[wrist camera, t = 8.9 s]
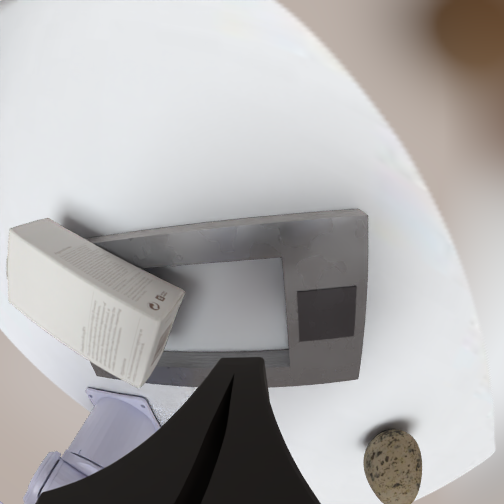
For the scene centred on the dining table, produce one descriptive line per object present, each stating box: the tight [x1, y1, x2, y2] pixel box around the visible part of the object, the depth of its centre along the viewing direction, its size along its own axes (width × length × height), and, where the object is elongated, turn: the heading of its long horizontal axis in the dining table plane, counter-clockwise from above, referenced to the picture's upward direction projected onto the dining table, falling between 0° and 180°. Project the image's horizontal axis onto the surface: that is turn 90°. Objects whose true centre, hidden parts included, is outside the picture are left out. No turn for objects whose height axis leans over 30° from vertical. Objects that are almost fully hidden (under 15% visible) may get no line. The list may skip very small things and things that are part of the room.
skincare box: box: [6, 218, 185, 388], centre depth 16 cm, size 6×4×12 cm
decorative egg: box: [364, 429, 422, 504], centre depth 19 cm, size 6×6×10 cm
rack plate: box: [86, 209, 368, 387], centre depth 19 cm, size 12×22×2 cm, turn 97°
